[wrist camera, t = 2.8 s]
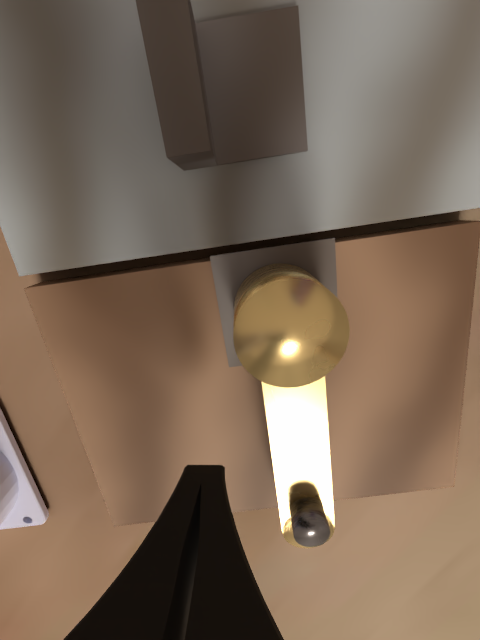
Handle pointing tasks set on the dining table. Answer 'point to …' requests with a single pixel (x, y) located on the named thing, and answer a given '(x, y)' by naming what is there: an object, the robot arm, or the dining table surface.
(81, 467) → the dining table surface
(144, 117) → the door and jamb
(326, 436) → the swing bar
